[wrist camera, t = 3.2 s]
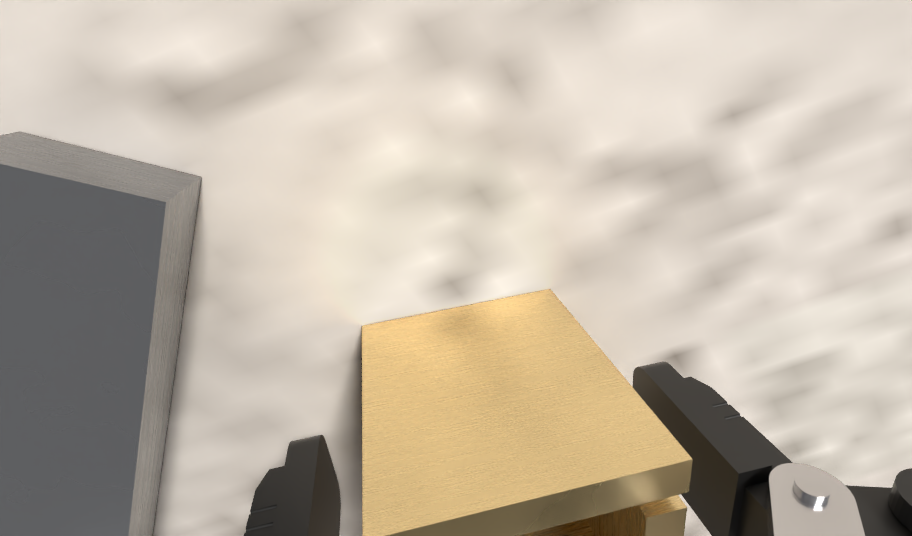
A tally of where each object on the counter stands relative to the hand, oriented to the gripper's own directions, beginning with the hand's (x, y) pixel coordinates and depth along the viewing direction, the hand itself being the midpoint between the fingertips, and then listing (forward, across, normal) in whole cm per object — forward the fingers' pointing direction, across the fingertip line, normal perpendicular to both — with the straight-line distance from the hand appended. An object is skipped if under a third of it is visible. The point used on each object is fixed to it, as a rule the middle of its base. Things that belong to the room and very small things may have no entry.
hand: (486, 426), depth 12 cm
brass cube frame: (+2, 0, 0) cm, 2 cm away
